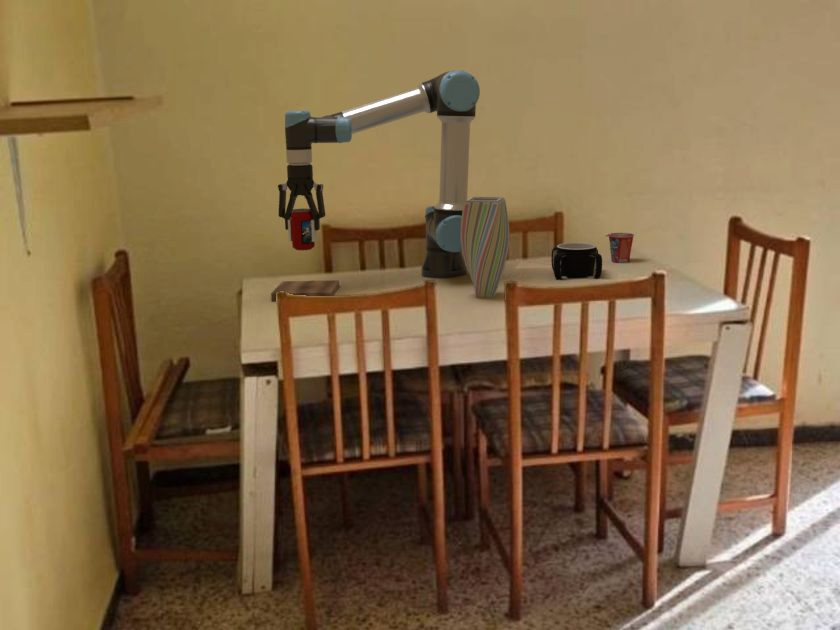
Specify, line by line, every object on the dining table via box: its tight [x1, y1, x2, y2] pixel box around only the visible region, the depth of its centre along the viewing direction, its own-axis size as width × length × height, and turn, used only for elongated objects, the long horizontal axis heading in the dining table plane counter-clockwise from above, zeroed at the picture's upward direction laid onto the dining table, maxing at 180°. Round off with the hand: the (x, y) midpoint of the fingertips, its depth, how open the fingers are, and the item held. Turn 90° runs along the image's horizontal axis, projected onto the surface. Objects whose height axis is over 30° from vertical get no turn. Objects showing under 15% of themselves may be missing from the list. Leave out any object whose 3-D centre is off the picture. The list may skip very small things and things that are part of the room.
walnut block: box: [270, 279, 340, 303], centre depth 274 cm, size 18×18×3 cm
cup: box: [605, 232, 635, 264], centre depth 298 cm, size 9×8×12 cm
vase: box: [461, 196, 510, 299], centre depth 254 cm, size 14×14×30 cm
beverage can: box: [290, 208, 316, 251], centre depth 269 cm, size 7×7×12 cm
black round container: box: [550, 242, 603, 281], centre depth 279 cm, size 16×16×12 cm
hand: (303, 240), depth 270 cm, fingers closed on beverage can, 7 cm apart
